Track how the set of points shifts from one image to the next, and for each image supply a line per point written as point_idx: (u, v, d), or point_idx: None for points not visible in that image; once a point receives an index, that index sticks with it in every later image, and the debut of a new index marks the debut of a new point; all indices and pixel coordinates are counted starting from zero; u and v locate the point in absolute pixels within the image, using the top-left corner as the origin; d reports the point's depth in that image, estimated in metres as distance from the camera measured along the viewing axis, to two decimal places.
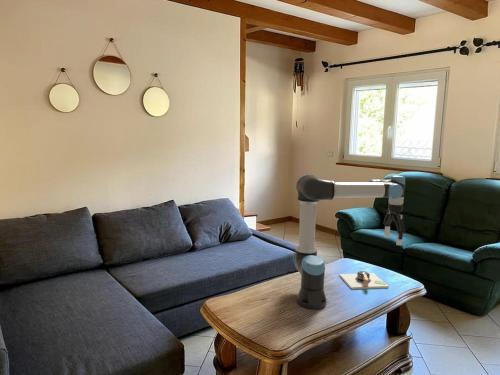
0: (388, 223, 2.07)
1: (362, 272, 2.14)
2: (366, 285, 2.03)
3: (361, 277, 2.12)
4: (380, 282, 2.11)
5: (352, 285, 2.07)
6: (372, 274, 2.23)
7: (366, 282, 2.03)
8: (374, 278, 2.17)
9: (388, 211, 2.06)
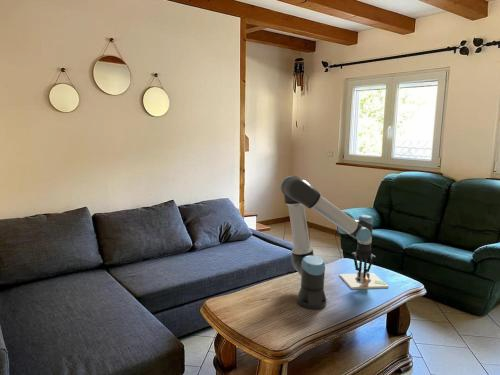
0: (364, 266, 2.06)
1: None
2: (366, 285, 2.03)
3: None
4: (380, 282, 2.11)
5: (352, 285, 2.07)
6: (372, 274, 2.23)
7: (366, 282, 2.03)
8: (374, 278, 2.17)
9: None
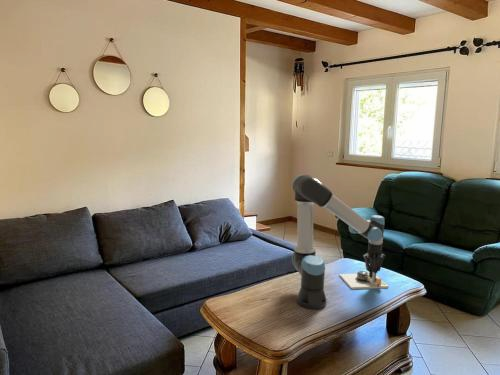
0: None
1: (362, 272, 2.14)
2: (379, 284, 2.04)
3: (365, 277, 2.11)
4: None
5: (352, 285, 2.07)
6: None
7: (380, 281, 2.04)
8: None
9: None
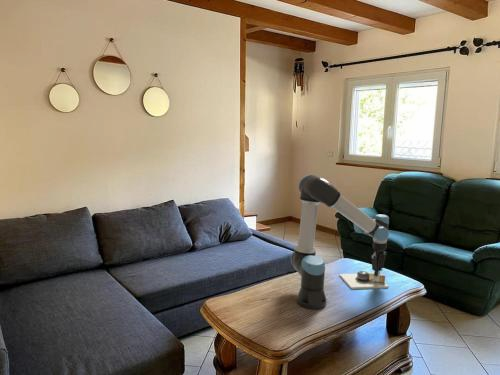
0: None
1: (363, 272, 2.14)
2: (384, 280, 2.10)
3: (368, 277, 2.12)
4: (380, 282, 2.11)
5: (352, 285, 2.07)
6: None
7: None
8: None
9: None
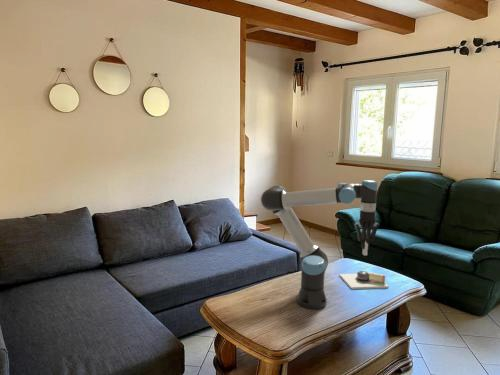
0: (367, 236, 1.88)
1: (363, 272, 2.14)
2: (384, 280, 2.10)
3: (368, 277, 2.12)
4: None
5: (352, 285, 2.07)
6: None
7: (384, 278, 2.09)
8: None
9: None
